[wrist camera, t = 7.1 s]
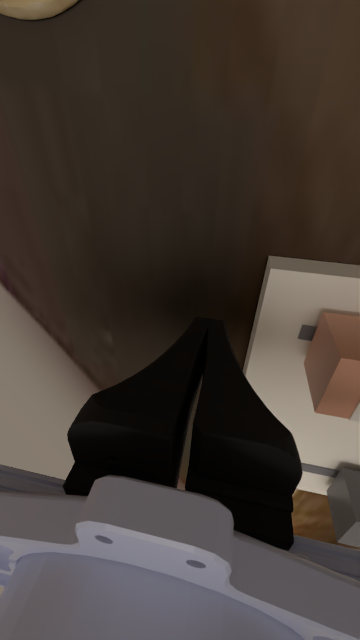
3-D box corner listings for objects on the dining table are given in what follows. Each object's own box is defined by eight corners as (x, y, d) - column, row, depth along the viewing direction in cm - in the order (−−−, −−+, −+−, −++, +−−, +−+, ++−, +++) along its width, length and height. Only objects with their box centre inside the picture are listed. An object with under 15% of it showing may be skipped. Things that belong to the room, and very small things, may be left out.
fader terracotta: (398, 322, 12) (437, 373, 9) (368, 373, 14) (395, 428, 11) (323, 312, 12) (341, 359, 10) (303, 363, 14) (314, 414, 12)
